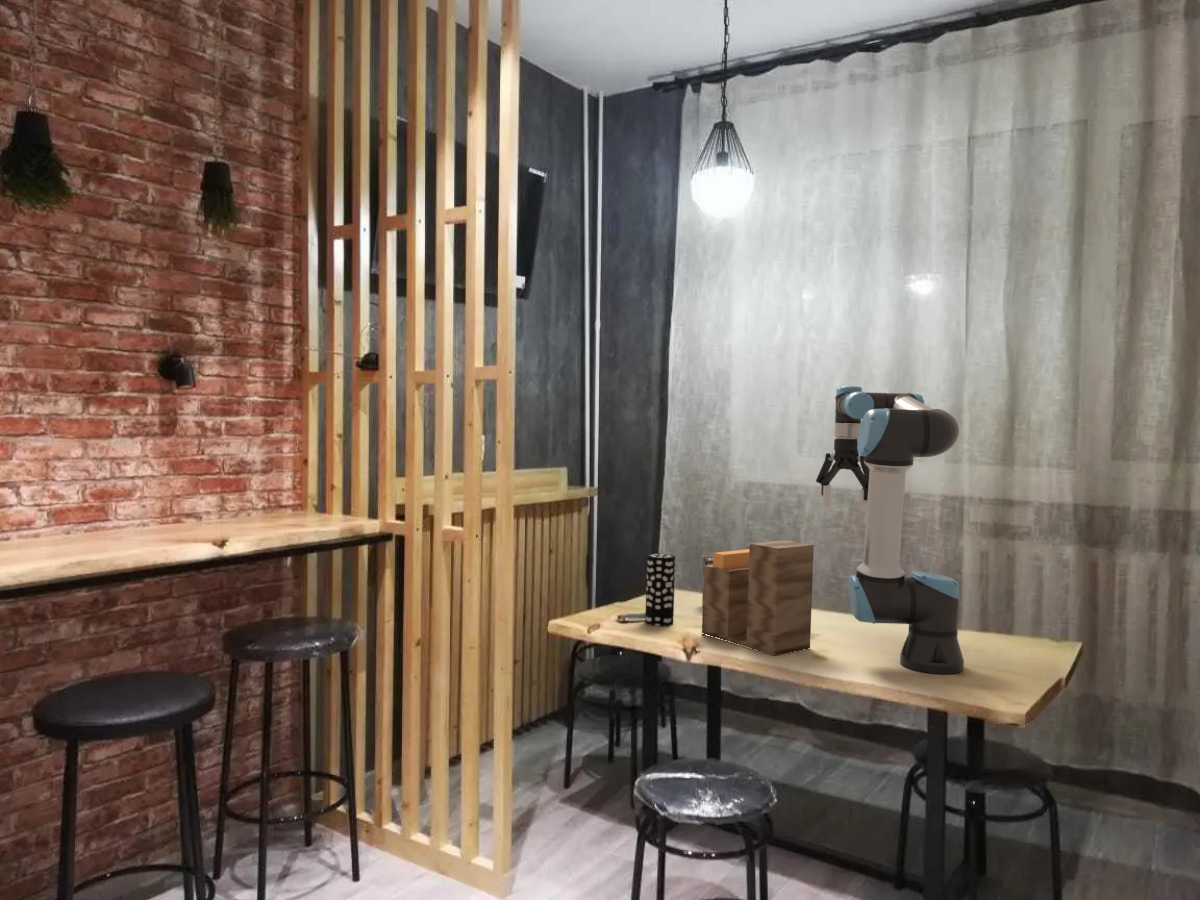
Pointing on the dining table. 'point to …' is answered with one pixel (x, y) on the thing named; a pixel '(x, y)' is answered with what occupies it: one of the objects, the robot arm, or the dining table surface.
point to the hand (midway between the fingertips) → (844, 509)
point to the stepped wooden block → (762, 598)
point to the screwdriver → (731, 559)
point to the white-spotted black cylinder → (660, 589)
